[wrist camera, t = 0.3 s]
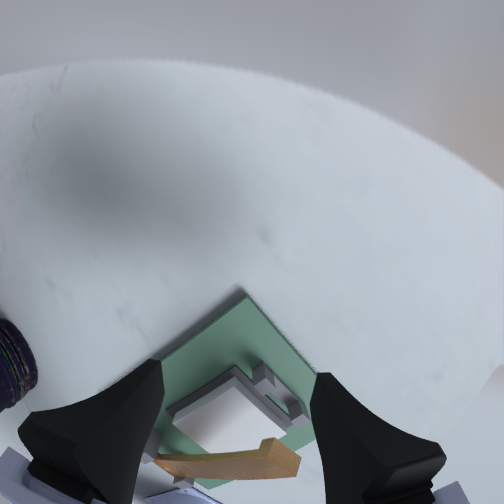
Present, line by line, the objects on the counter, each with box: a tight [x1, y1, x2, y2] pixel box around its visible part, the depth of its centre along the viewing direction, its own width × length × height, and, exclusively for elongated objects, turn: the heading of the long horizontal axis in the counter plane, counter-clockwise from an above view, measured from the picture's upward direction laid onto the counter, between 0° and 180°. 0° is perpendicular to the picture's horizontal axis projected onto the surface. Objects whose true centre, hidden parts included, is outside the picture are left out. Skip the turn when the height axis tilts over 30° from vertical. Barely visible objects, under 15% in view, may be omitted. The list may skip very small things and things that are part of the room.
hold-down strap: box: [152, 437, 301, 480], centre depth 17 cm, size 15×3×2 cm, turn 129°
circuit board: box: [141, 294, 317, 490], centre depth 20 cm, size 19×16×5 cm
